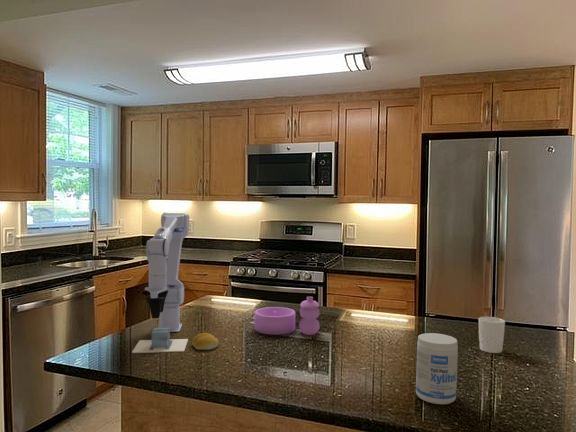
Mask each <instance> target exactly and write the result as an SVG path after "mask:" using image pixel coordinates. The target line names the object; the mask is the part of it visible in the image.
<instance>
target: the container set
mask: <svg viewBox="0 0 576 432" xmlns="http://www.w3.org/2000/svg"><path fill="white" fill-rule="evenodd" d="M313 299H314V297H313V296H306V300H303V301H301V302H300V304H299V305H300V310H299V315H300V317H301V318H302V319H301V320H300V322H299V324H298V326H299V327H298V328H299V331H300V332H301V333H302V335H303V334H304V335H308V336H309V335H310V336H312V335H316V334H317V333H318V332H319V331H320V322H319V320H318V317H319V316H320V309H319V306H320V305H319V302H318V301H316V300H313ZM254 331H256V332H257V333H259V334H264V335H265V334H266V335H276V336H277V335H285V334H290V333H293V332H294V331H296V310H294V309H292V308H288V307H283V306H266V307H262V308H258V309H256V310H255V311H254Z"/></svg>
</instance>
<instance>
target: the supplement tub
mask: <svg viewBox="0 0 576 432" xmlns="http://www.w3.org/2000/svg"><path fill="white" fill-rule="evenodd" d="M416 345H417V346H416V373H415V376H416V377H415V394H416V396H417V397H418V398H419V399H421V400H422V401H425V402H427V403H430V404H434V405H435V404H436V405H449V404H451V403H453V402H455V401H456V399H457V383H458V380H457V379H458V360H459V359H458V358H459V357H458V356H459V351H458V350H459V349H458V347H459V346H458V340H457V338H456V337H453V336H451V335H448V334H442V333H435V332H428V333H427V332H425V333H421V334H419V335H418V337H417V344H416Z"/></svg>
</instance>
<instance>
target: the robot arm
mask: <svg viewBox="0 0 576 432" xmlns="http://www.w3.org/2000/svg"><path fill="white" fill-rule="evenodd" d="M160 226H161V227H160V228H158V229H157V230H156V232H155V233H154V236H153V237H152V238H150V239H148V240H147V241H146V244H145V253H146V260H147V262H148V287H147V286H146V287H144V291H148V292H149V293H150V295H149V296H146V297H145V299H146V300H145V301H146V302H147V304H148V306H149V309H150V310H149V311H150V316H151V318H152V319H159V325H158V328H170V333H178V332H179V333H180V330H181V329H182V326H183V323H180V314H181V313H180V312H181V311H180V309H181V305H183V304H184V301H185V300H184V299H185V284H184V283H183V282H181V280H179V271H180V262H181V255H182V254H181V253H182V247H183V246H182V245H183V241H184V239H185V238H186V237H188V234H189V230H190V215H189V214H188V213H187V212H185V213H184V212H183V213H182V212H163V213H162V214H161V217H160Z"/></svg>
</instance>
